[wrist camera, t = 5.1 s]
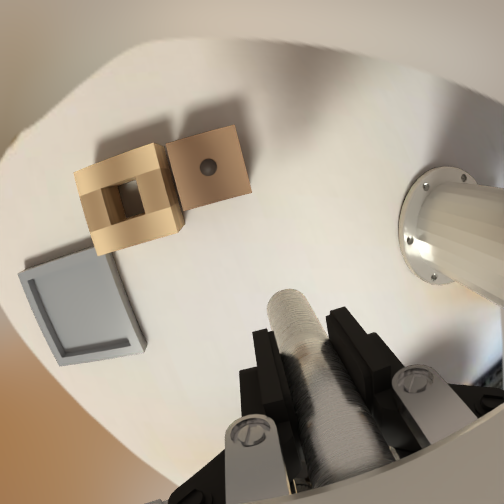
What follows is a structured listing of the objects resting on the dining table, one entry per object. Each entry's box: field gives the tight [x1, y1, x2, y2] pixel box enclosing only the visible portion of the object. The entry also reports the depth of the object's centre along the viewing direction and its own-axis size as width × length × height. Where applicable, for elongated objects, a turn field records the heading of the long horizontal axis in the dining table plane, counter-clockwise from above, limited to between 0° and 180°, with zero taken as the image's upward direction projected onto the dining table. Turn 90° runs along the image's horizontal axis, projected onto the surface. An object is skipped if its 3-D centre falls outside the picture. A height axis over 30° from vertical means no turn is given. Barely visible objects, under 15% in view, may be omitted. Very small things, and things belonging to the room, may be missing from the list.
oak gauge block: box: [74, 143, 185, 256], centre depth 24 cm, size 7×7×4 cm
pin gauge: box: [267, 289, 396, 489], centre depth 9 cm, size 2×2×12 cm
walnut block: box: [166, 125, 252, 211], centre depth 24 cm, size 5×5×5 cm
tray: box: [18, 246, 147, 366], centre depth 27 cm, size 11×11×2 cm
